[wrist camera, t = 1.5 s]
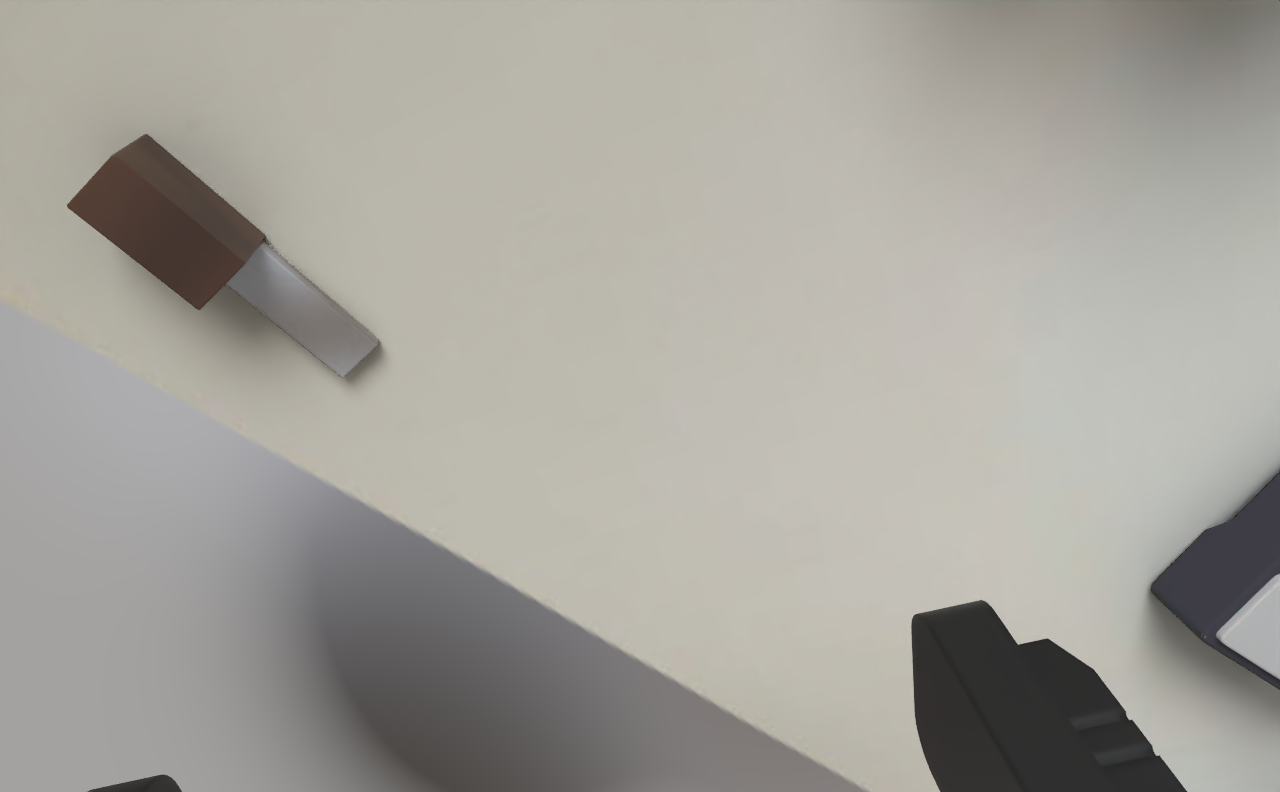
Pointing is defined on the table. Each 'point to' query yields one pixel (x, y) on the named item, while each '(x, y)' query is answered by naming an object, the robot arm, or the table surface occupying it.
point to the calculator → (1233, 586)
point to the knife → (211, 249)
